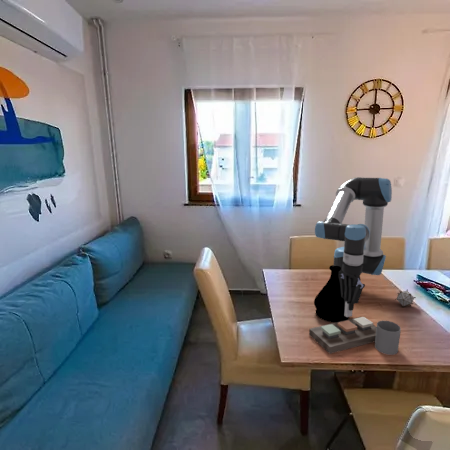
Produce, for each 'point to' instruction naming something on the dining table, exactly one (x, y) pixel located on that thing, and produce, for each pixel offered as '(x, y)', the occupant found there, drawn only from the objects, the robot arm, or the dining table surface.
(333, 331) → the sage button
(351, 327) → the terracotta button
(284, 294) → the dining table surface
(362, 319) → the cream button
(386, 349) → the cup
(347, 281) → the robot arm
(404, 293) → the grey spiky ball
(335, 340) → the button board
